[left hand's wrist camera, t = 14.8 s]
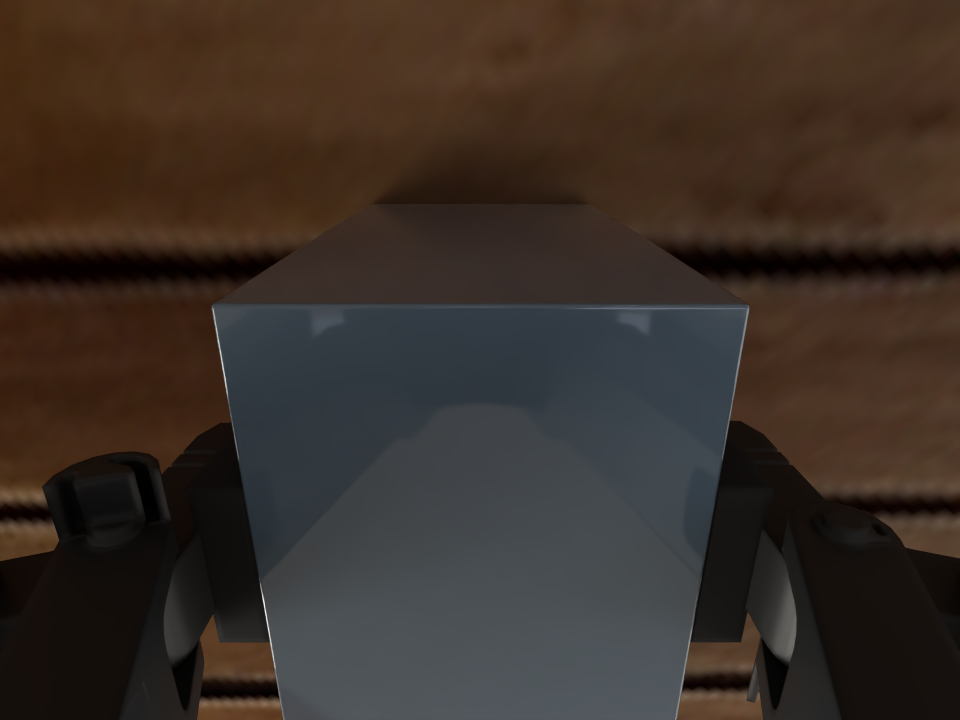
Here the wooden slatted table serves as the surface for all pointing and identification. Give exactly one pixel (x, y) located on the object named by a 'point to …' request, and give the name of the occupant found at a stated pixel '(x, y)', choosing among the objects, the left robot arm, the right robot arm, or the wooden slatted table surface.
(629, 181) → the wooden slatted table surface
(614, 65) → the wooden slatted table surface
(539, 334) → the brick
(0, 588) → the left robot arm
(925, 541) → the wooden slatted table surface
